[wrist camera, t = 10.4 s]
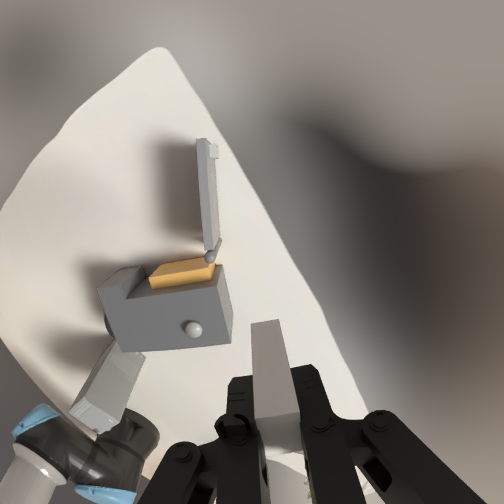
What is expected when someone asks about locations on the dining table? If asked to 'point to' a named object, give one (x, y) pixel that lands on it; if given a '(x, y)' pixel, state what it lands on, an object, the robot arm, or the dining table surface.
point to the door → (208, 191)
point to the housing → (169, 306)
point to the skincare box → (107, 389)
